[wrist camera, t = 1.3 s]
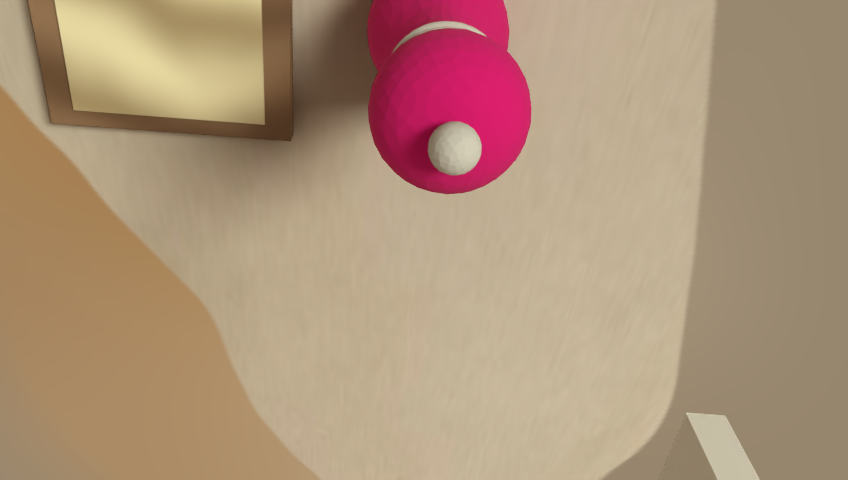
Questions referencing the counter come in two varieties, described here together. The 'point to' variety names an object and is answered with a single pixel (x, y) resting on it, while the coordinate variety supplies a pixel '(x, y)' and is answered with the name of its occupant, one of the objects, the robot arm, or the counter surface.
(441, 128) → the pepper mill
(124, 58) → the clipboard
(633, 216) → the counter surface
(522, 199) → the counter surface
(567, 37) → the counter surface
